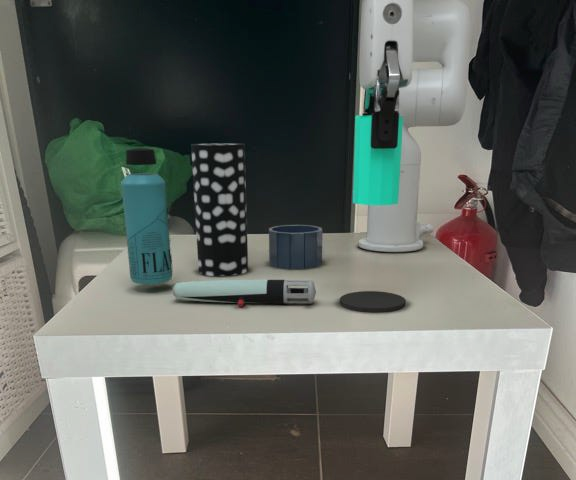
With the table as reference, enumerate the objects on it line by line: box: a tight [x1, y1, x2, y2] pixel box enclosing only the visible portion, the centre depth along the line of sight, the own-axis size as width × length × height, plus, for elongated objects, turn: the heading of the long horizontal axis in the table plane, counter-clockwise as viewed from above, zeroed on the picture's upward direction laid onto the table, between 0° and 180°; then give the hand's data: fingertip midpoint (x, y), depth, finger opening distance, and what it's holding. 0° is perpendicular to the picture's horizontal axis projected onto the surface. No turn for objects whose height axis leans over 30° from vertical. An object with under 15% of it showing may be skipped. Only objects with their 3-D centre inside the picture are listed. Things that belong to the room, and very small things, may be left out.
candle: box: [352, 114, 403, 206], centre depth 82 cm, size 6×6×12 cm
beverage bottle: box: [120, 147, 174, 285], centre depth 93 cm, size 6×7×20 cm
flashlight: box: [172, 279, 317, 308], centre depth 89 cm, size 3×4×20 cm
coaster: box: [339, 290, 407, 313], centre depth 89 cm, size 9×9×1 cm
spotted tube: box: [190, 142, 249, 277], centre depth 104 cm, size 8×8×20 cm
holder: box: [268, 224, 323, 270], centre depth 112 cm, size 9×9×6 cm
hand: (378, 145), depth 81 cm, fingers closed on candle, 6 cm apart
